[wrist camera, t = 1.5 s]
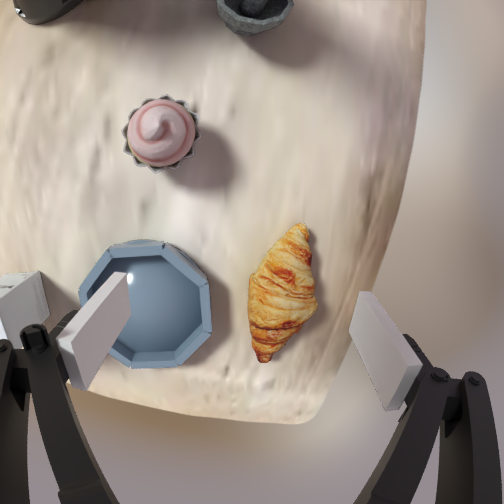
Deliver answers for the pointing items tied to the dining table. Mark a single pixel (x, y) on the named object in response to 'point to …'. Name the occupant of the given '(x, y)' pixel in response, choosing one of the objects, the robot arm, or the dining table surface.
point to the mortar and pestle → (253, 14)
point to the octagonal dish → (155, 303)
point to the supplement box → (21, 304)
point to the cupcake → (161, 133)
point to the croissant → (281, 293)
